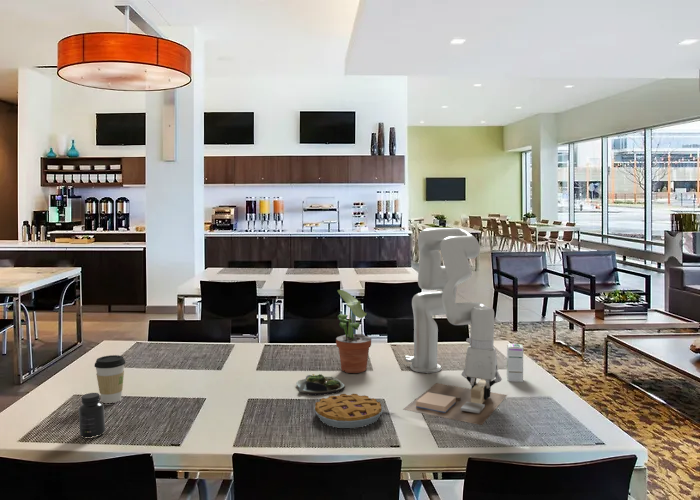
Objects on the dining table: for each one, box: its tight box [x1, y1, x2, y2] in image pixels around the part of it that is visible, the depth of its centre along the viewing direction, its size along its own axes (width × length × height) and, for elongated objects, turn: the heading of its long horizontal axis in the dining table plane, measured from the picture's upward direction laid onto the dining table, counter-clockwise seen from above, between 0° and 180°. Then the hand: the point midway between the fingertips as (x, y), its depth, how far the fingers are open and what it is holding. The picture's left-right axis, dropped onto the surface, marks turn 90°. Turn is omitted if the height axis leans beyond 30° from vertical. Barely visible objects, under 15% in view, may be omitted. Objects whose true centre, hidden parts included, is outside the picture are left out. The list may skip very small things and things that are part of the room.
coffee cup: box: [94, 354, 126, 403], centre depth 193 cm, size 10×10×15 cm
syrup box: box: [506, 343, 524, 383], centre depth 212 cm, size 6×6×14 cm
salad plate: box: [296, 373, 346, 396], centre depth 209 cm, size 19×18×5 cm
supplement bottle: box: [78, 392, 106, 437], centre depth 166 cm, size 7×7×12 cm
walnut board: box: [402, 382, 508, 426], centre depth 188 cm, size 26×30×2 cm
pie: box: [313, 393, 384, 429], centre depth 179 cm, size 22×22×5 cm
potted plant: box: [335, 289, 372, 374], centre depth 226 cm, size 16×15×35 cm
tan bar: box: [461, 379, 486, 413], centre depth 186 cm, size 18×6×5 cm, turn 150°
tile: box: [416, 392, 456, 413], centre depth 185 cm, size 10×2×10 cm
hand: (480, 396), depth 188 cm, fingers open, 3 cm apart
